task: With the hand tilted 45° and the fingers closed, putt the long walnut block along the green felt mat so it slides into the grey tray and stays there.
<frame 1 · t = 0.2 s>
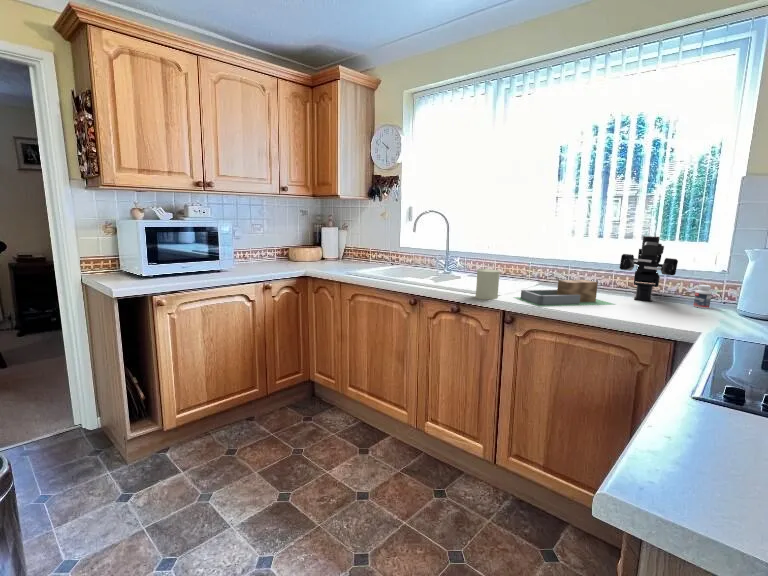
hand: (647, 266, 158), 16 cm above the countertop, tool horizontal, fingers open, 9 cm apart
can: (486, 298, 177), on the countertop
walnut block: (575, 300, 174), resting on mat
mat: (563, 301, 173), on the countertop
grey tray: (549, 301, 171), resting on mat
pill bottle: (701, 307, 170), on the countertop
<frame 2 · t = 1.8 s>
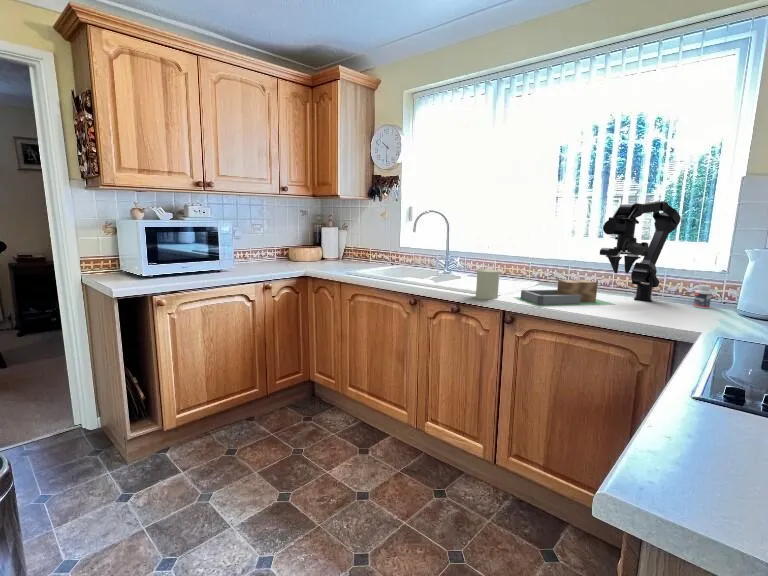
hand: (621, 273, 174), 12 cm above the countertop, tool pointing down, fingers open, 5 cm apart
nothing on the countertop moved.
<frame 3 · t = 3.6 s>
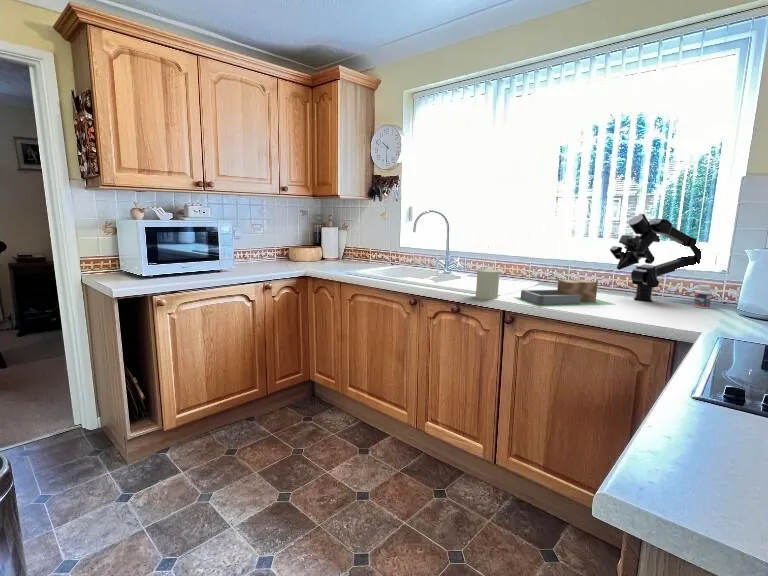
hand: (617, 268, 177), 13 cm above the countertop, tool tilted 45°, fingers closed
nothing on the countertop moved.
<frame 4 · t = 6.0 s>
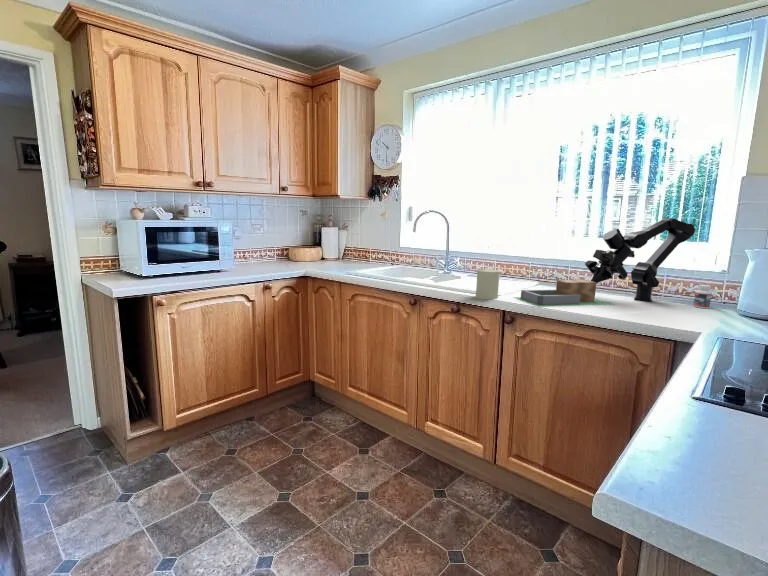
hand: (591, 283, 175), 7 cm above the countertop, tool tilted 45°, fingers closed, pressing on walnut block
walnut block: (574, 300, 174), resting on mat, touching gripper
everything else where it was.
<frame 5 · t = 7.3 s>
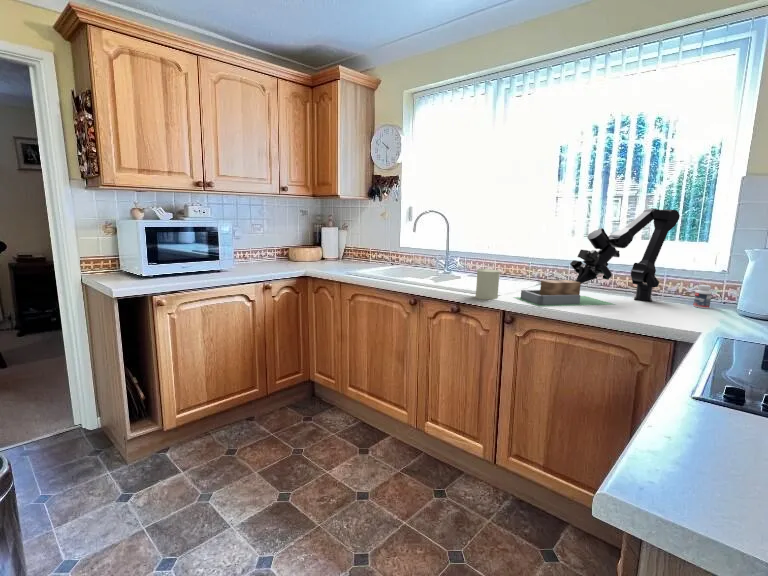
hand: (576, 283, 173), 7 cm above the countertop, tool tilted 45°, fingers closed
walnut block: (558, 300, 172), resting on mat
everything else where it was.
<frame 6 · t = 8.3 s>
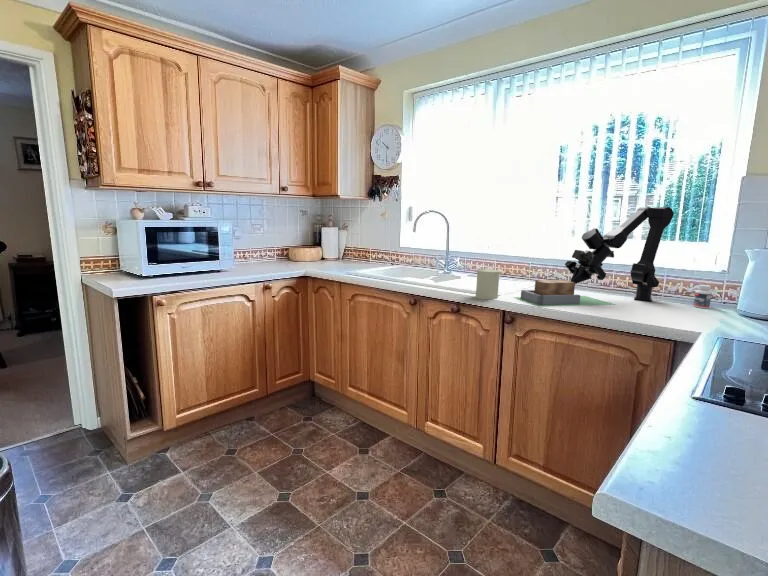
hand: (570, 284, 172), 7 cm above the countertop, tool tilted 45°, fingers closed, pressing on walnut block
walnut block: (553, 301, 172), resting on mat, touching gripper
everything else where it was.
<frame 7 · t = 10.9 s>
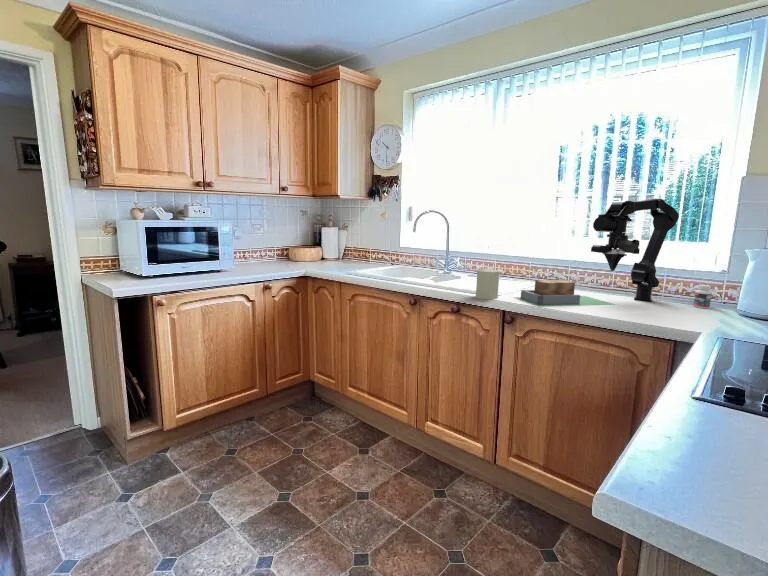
hand: (612, 270, 175), 13 cm above the countertop, tool pointing down, fingers closed
walnut block: (553, 301, 172), resting on mat
everything else where it was.
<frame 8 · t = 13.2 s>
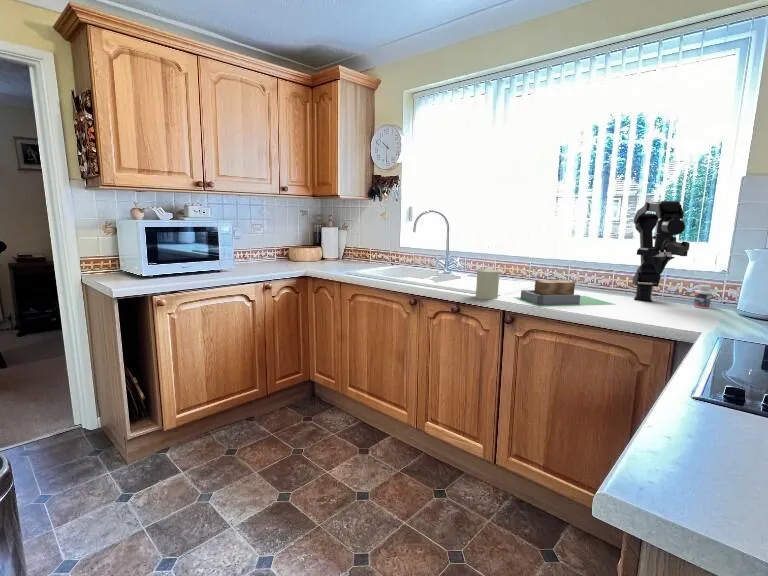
hand: (659, 274, 167), 13 cm above the countertop, tool pointing down, fingers closed
nothing on the countertop moved.
at the end: walnut block inside the target area (1.5 cm from its centre), resting on mat; walnut block 1.8 cm from the grey tray (horizontally); walnut block tilted 0° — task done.
